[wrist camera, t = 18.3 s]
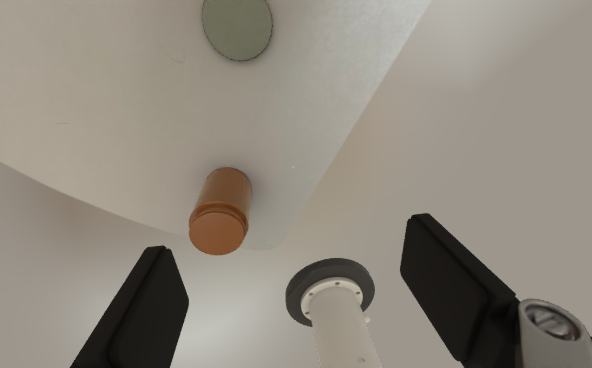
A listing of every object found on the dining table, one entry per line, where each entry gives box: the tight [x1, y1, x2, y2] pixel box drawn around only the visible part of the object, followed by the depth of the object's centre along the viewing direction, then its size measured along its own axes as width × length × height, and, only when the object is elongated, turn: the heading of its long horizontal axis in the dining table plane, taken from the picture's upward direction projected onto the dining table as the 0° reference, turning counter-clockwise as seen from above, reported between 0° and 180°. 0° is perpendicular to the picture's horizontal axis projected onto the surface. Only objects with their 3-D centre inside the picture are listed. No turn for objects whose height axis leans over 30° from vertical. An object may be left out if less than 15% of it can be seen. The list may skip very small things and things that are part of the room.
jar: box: [189, 168, 251, 255], centre depth 31 cm, size 6×6×11 cm
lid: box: [202, 0, 273, 61], centre depth 27 cm, size 7×7×2 cm
